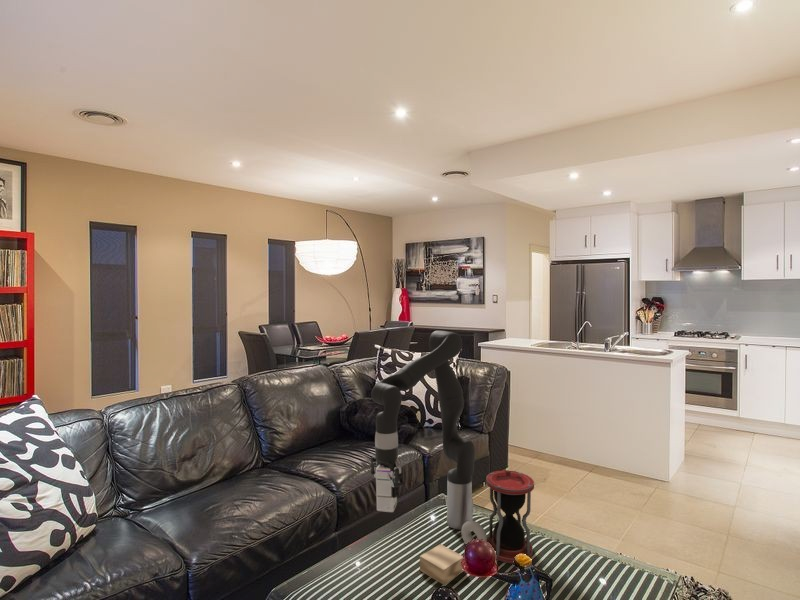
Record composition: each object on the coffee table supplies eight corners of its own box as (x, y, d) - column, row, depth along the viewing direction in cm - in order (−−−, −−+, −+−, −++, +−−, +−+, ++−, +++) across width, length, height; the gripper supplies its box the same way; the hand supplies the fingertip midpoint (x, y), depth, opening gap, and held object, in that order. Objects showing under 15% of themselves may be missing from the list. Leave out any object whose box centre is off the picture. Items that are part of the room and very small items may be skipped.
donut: (459, 546, 168) (459, 518, 168) (464, 542, 171) (465, 514, 170) (483, 557, 161) (483, 528, 161) (488, 553, 164) (489, 524, 163)
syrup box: (393, 512, 155) (393, 469, 154) (375, 510, 156) (375, 467, 156) (397, 504, 161) (397, 462, 160) (380, 502, 162) (379, 460, 161)
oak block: (440, 558, 161) (440, 544, 161) (463, 571, 154) (463, 556, 154) (419, 571, 154) (419, 556, 154) (443, 585, 147) (443, 569, 147)
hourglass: (541, 549, 166) (542, 478, 165) (518, 570, 154) (519, 494, 153) (500, 532, 177) (501, 466, 176) (476, 550, 165) (477, 479, 164)
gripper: (409, 447, 154) (409, 496, 155) (381, 436, 165) (381, 482, 166) (391, 453, 150) (391, 504, 151) (364, 441, 160) (364, 488, 161)
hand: (386, 492), depth 158 cm, fingers closed on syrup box, 7 cm apart
